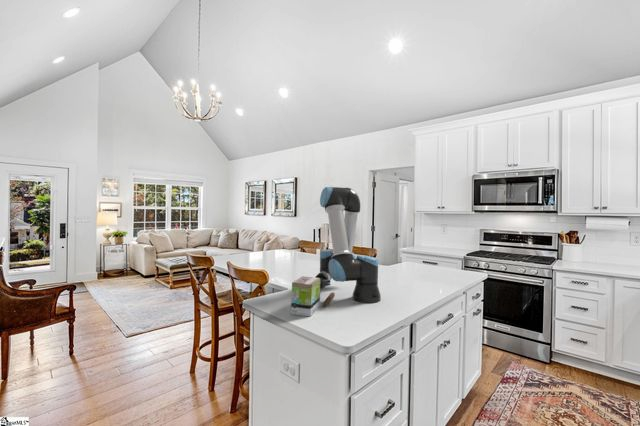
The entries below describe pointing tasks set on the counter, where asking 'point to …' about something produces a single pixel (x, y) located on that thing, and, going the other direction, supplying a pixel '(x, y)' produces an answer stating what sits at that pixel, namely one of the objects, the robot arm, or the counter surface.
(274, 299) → the counter surface
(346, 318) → the counter surface
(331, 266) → the robot arm
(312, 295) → the tea box
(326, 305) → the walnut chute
